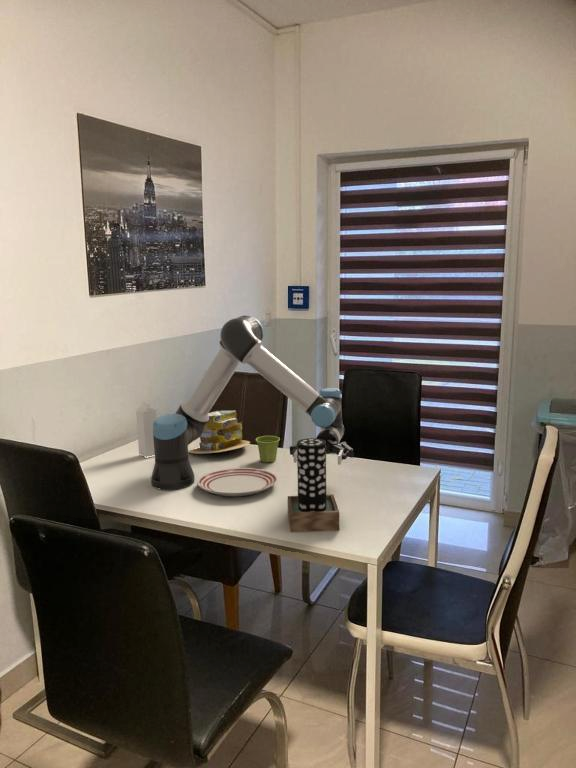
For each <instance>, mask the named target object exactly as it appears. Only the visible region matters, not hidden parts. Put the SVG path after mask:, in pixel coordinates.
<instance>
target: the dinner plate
mask: <svg viewBox="0 0 576 768" xmlns="http://www.w3.org/2000/svg"><path fill="white" fill-rule="evenodd" d="M278 481H279V479H278V476H277V475H276V474H275V473H273V472H271V471H268V470H266V469H261V468H253V467H233V468H226V469H225V468H224V469H219V470H215V471H210V472H207V473H205V474H203V475H202V476H200V477H198V479H197V481H196V482H197V485H198V487H199V488H200V489H202V490H204V491H206V492H209V493H211V494H215V495H219V494H220V495H219V496H223V495H225V497H243V496H250V495H254V494H257V493H260V492H263V491H265V490H267V489H269V488H271V487H273V486H274V485H275V484H276V483H277V482H278Z"/></svg>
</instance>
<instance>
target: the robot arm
mask: <svg viewBox="0 0 576 768" xmlns="http://www.w3.org/2000/svg"><path fill="white" fill-rule="evenodd" d="M264 331H265V330H264V326H263V325H262V323H261V322H260V321H259V319H257V318H256V317H254V316H251V315H241V316H238V317H235V318H232V319H230V320H228V321H227V322H225V323H224V324H223V326H222V327H221V331H220V341H219V342H218V343H219V347H220V349H219V350H218V352H217V354H216V355H215V357H214V358H213V360H212V361H211V363H210V365H209V366H208V367H207V370H206V371H205V373H204V375H203V376H202V378H201V380H199V382H198V384H197V385H196V388H194V390H193V392H192V393H191V396H189V398H188V399H187V401H186V400H185V401H183V402H181V404H180V405H179V407H178V409H177V410H176V411H175V413H169V414H165V415H160V416H159V417H157V419H156V420H155V421H154V423H153V439H154V454H155V457H154V465H153V468H152V473H151V477H150V484H152V485H151V486H152V487H153V486H154V487H153V488H155V487H156V488H155V489H158V488H160V489H159V490H166V489H169V490H178V489H184V488H187V487H189V486H191V485H193V484H194V483H195V482H194V481H195V480H196V479H195V478H196V477H195V473H194V469H193V468H192V465H191V463H190V459H189V446H190V445H191V443H193V442H195V441H196V440H198V439H200V436H201V435H202V433H203V431H204V429H205V425H206V423H207V422H208V420H209V415H208V413H210V411H211V410H212V408H213V406H214V405H215V404H216V402H217V400H218V398H219V397H220V396H221V394H222V393H223V390H224V389H225V387H226V386H227V384H228V383H229V381H230V380H231V378H232V377H233V375H234V374H235V372H236V370H237V369H238V367H239V365H240V364H241V363H242V364H244V365H245V364H246V365H249V367H251V368H252V369H254V370H255V372H257V373H258V374H260V375H261V376H262V377H263V378H264V379H265V380H266V381H268V383H270V384H271V385H273V386H274V387H275V388H276V389H277V390H278V391H279V392H280V393H283V395H284V396H286V397H287V398H288V399H289V400H291V401H292V402H293V403H294V404H295V405H297V406H298V407H299V408H300V409H301V410H302V411H304V412H305V413H306V414H307V415H308V416H309V417H310V418H311V421H312V423H313V425H315V426H316V427H318V428H320V431H319V433H318V434H317V435H316V437H315V438H316V439H322V440H324V441H326V455H330V454H336V455H337V465H338V466H339V465H341V464H342V462H343V461H344V460H347V458H348V457H349V458H352V459H353V458H354V449H353V448H352V447H351V446H349V445H348V444H347V442H346V441H342V442H340V441H341V439H343V437H344V434H345V427H344V424H343V414H342V411H343V410H342V394H341V389H339V388H336V387H326V388H322V389H320V390H319V392H318V391H317V390H316V389H314V388H313V387H312V386H311V385H310V384H308V382H306V381H305V380H303V378H301V377H300V376H299V375H298V374H296V373H295V371H292V370H291V369H290V367H288V366H287V365H286V364H284V363H283V362H282V361H281V360H280V359H279V358H277V357H276V356H275V355H274V354H272V353H271V352H270V351H269V350H268V349H267V348H265V347H264V346H263V344H262V343H263V342H262V341H263V339H264V335H265V334H264V333H265V332H264ZM289 455H291V456H292V458H293V463H295V464H296V463H297V443H296V444H294V445H290V446H289Z"/></svg>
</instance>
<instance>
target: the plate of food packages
mask: <svg viewBox="0 0 576 768" xmlns="http://www.w3.org/2000/svg"><path fill="white" fill-rule="evenodd" d="M208 415H209V420H208V422H207V423H206V425H205V429H204V431H203V433H202V435H201V436H200V437H199V440H200V442H199V446H200V448H197V449H193V448H192V449H193V450H191V449H190V450H188V453H191V454H212V453H221V454H222V455H224V452H227V451H232V450H237V449H240V448H243V447H246V446H248V445H250V444H251V441H249V440H243V432H242V431H243V425H242V422H243V421H242V420H241V421H240V422H238V418H237V411H236V410H231V409H230V410H224V409H223V410H216V411H211V412H209V413H208Z"/></svg>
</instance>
